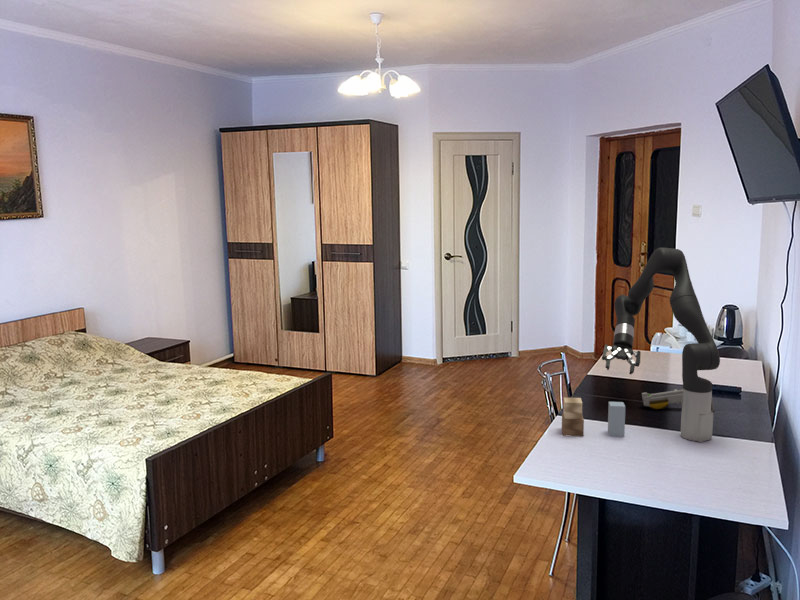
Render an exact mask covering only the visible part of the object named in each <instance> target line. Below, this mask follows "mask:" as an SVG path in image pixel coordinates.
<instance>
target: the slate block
mask: <svg viewBox="0 0 800 600" xmlns="http://www.w3.org/2000/svg"><path fill="white" fill-rule="evenodd" d="M607 410H608V413H607V433H608V435H609V437H623V438H625V432H626V431H625V429H626V427H625V426H626V405H625V403H624V402H623V401H608V409H607Z"/></svg>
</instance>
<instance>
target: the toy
mask: <svg viewBox="0 0 800 600" xmlns="http://www.w3.org/2000/svg"><path fill="white" fill-rule="evenodd" d="M674 390H675V389H674ZM674 390H670V391H669V390H668V391H663V392H655V393H648V392H647V391H646V392H641V399H642V403H643V406H644V407H649V408H650V409H652V410H659V409H660V410H661V409H667V407H668V406H669V404H675V405H678V404H680V406H681V407H682V394H683V388H681V389H676V390H675V391H674ZM714 411H715V406H714V399H713V398H712V399H711V412H714Z"/></svg>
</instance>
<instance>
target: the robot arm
mask: <svg viewBox="0 0 800 600" xmlns="http://www.w3.org/2000/svg"><path fill="white" fill-rule="evenodd" d="M687 263H688V262H687V259H686V256H685V254H684V252H683V251H682V250H681V249H678V248H671V247H670V248H669V247H657V248H656V249H655V250H653V252H652V253H651V255H650V257H649V259H648V260H647V263H646V264H645V266H644V268H643V269H642V272H641V274H640V276H639V277H638V279H637V280H636V282H635V283H634V284H633V285H632V286H631V287H630V288H629V290H628V292H627V295H625V294H620V295H618V296H617V297H616V298H615V300H614V305H613V306H614V312H615V316H616V324H615V329H614V334H613V341H612V345H611V346H610V345H608V344H604V347H603V351H602V352H603V353H602V356H601V360H602V361H605V369H606V370H607V371H609V370H610V368H611V361H613V360H614V359H616V360H621V361H626V362H627V363H628V364H629V365H630V367H629V375H632V374H634V373H635V367H637V368H638V367H640V364H641V356H642V355H641V350H637V351H635V350H633V347H634V346H633V345H634V339H635V324H636V320H635V319H636V318H635V316H637V315H638V314H639V313H640V312H641V310H642V305H643V303H644V302H645V300H646V299H647V298H648V297H649V295H651V293H652V291H653V289H654V286H655V285H654V276H655V275H656V274H657V273H658V272H660V273H667V274H668V273H670V274H672V275H673V279H674V283H675V284H674V287H673V290H672V292H671V294H670V296H669V304H670V308H671V311H672V314H673V316H674V319H676V321H677V322H678V323H679V324H680V326H682V327H684V328H685V329H686V330H687V331H688V332H689V333H691V335H693V337H694V339H695V340H696V342H695V343H686V344H685V345H684V346H683V349H682V353H681V357H682V358H681V360H682V361H681V367H682V369H681V370H682V371H681V373H682V374H681V377H682V389H683V394H682V406H681V416H680V417H681V419H680V437H681V438H683V439H685V440H689V441H693V442H699V443H702V442H703V443H704V442H706V441H710V440H713V428H714V427H713V425H714V411H712V412H711V399H713V394H712V393H713V382H712V381H710V380H709V379H706V378H704V377H701V376H699V375H698V371H713V370H717V369H718V368H719V366H720V363H721V357H720V353H719V352H720V351H719V350H718V347H717V344H716V343H715V340H714V338H713V336H712V334H711V332H710V330H709V327H708V325H707V323H706V320H705V317H704V314H703V312H702V309H701V306H700V303H699V300H698V297H697V295H696V292H695V289H694V287H693V282H692V280H691V276H690V271H689V267H688V264H687ZM608 352H611V354H608V355H607V353H608ZM633 356H634V358H635V360H634V358H633Z"/></svg>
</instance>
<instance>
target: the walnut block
mask: <svg viewBox="0 0 800 600" xmlns="http://www.w3.org/2000/svg"><path fill="white" fill-rule="evenodd" d="M584 425H585V419H584V415H582V420H581V419H564V414H563V412H561V432H563V433H562V436H566V435H571V436H572V437H584V430H585V429H584V428H585V426H584Z"/></svg>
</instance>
